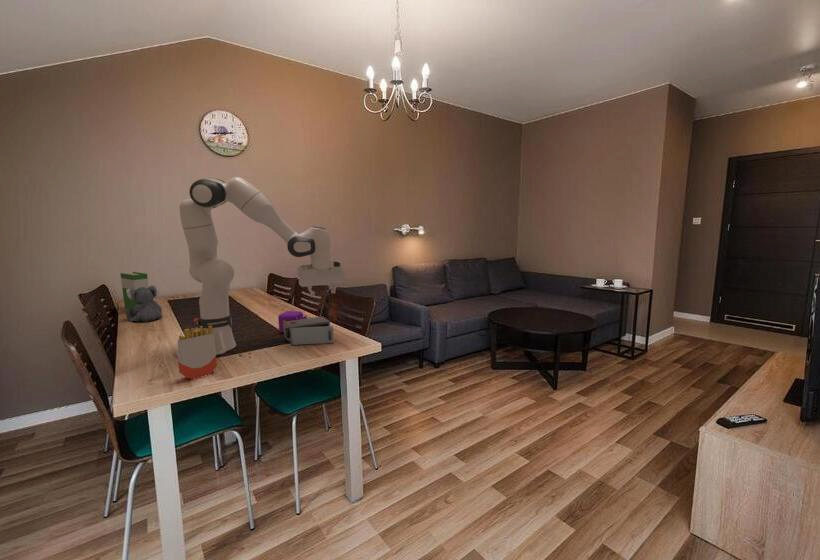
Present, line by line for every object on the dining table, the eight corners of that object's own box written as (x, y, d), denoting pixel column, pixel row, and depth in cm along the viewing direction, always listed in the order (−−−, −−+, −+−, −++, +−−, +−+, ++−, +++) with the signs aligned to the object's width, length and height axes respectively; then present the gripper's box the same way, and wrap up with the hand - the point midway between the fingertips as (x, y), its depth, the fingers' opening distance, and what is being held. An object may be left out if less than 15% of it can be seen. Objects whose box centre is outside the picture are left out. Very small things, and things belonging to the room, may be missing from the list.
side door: (290, 346, 161) (289, 329, 160) (291, 344, 163) (290, 327, 162) (333, 343, 164) (332, 327, 162) (333, 342, 166) (333, 325, 165)
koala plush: (161, 314, 222) (157, 282, 219) (168, 319, 210) (165, 285, 207) (125, 319, 210) (121, 286, 207) (131, 325, 198) (126, 289, 195)
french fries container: (179, 378, 128) (174, 328, 125) (212, 369, 136) (207, 322, 134) (184, 382, 125) (179, 331, 122) (217, 372, 133) (213, 324, 131)
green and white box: (125, 311, 231) (120, 273, 227) (138, 308, 237) (134, 271, 233) (137, 314, 221) (132, 275, 218) (151, 312, 228) (147, 273, 224)
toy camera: (305, 334, 179) (303, 314, 177) (277, 334, 179) (275, 314, 178) (311, 328, 189) (310, 309, 188) (285, 328, 190) (283, 309, 188)
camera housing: (289, 345, 163) (288, 326, 162) (282, 338, 172) (281, 320, 171) (330, 337, 173) (329, 319, 172) (322, 331, 182) (321, 315, 181)
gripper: (299, 266, 153) (302, 298, 156) (345, 262, 164) (346, 292, 167) (295, 264, 159) (297, 296, 161) (340, 261, 170) (341, 290, 172)
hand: (323, 294), depth 164 cm, fingers open, 8 cm apart
